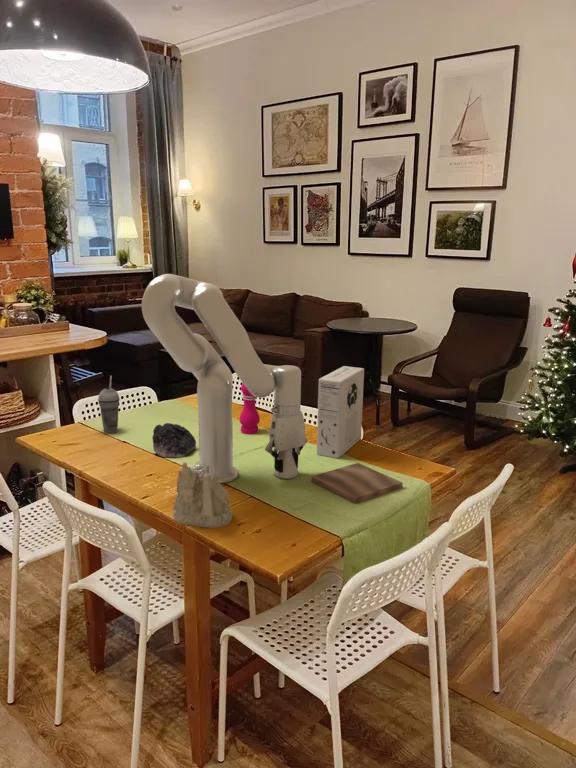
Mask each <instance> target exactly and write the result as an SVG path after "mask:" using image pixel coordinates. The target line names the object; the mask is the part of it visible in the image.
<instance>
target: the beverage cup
mask: <svg viewBox="0 0 576 768" xmlns="http://www.w3.org/2000/svg"><path fill="white" fill-rule="evenodd" d="M109 376H110V377H109V387H106V388H103V389H102V390H100V392H99V394H98V398H97V401H98V405H99V408H100V414H101V421H102V427H103V431H104V433H105V434H114V433H116V432H118V425H119V405H120V395H119V393H118V391H117V390H116V389H114V388H112V380H113V379H112V377H113V376H112V375H109Z"/></svg>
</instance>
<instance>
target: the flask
mask: <svg viewBox="0 0 576 768" xmlns="http://www.w3.org/2000/svg"><path fill="white" fill-rule="evenodd" d="M281 459H282V460H283V472H282V473H280V472H278V471H276V470H275V469H274V471H273V474H272V475H274V476H275V477H277V478H279V479H286V480H289V479H293V478H296V477H297V476H298V475H299V474H300V471H299V469H298V468H297V467H296V464H295V461H294V458H293V455H292V449H289V450H285V451H283V453H282V458H281Z"/></svg>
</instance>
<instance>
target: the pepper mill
mask: <svg viewBox="0 0 576 768" xmlns="http://www.w3.org/2000/svg"><path fill="white" fill-rule="evenodd" d="M240 390H241V393H242V397H241V398H242V400H243V408H242V410H241V413H240V415H239V423H240V424H241V426H240V432H241V433H242V434H245V435H246V434H247V435H253V434H257V433H259V426H258V424H259V423H260V421H261V418H260V414H259V412H258V409H257V408H256V407H257V406H256V400H257V399H258V397H255V396H254V395H252V394H251V393H250V392H249V391H248V389H247V388H246V387H245V385H244V384H243V383H241V386H240Z"/></svg>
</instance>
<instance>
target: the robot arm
mask: <svg viewBox="0 0 576 768" xmlns="http://www.w3.org/2000/svg"><path fill="white" fill-rule="evenodd" d="M223 294H224V293H223V292H222V290H221V289H220V287H218V285H216V284H214V283H210V282H205V281H201V280H196V279H193V278H188V277H186V276H181V275H176V274H173V273H164V274H161V275H158V276H157V277H155V278H153V279H152V280H151V281H149V283H148V285H147V286H146V288H145V290H144V293H143V296H142V299H141V312H142V317H143V319H144V321H145V323H146V325H147V327H148V328H149V330H150V331H151V332H152V333H153V335H154V336H155V337H156V339H157V340H158V341H159V342H160V344H161V345H162V346H163V348H164V349H165V350H166V352H168V354H169V355H170V356H171V358H172V359H173V360H174V362H175V363H176V365H177V366H178V367H179V368H180V369H182V370H183V371H185V372H188V373H192V374H193V376H194V377H195V378H196V380H197V385H196V386H197V387H196V394H197V396H196V397H197V398H196V399H197V412H198V418H197V419H198V438H199V439H198V441H199V442H198V446H199V447H198V449H199V450H198V451H199V453H198V454H199V460H198V461H195V462H196V463H195V465H193V466H192V467H191V466H189V467H190V469H191V471H192V469H196V472H197V473H198V475H199V476H200V475H201V474H202V472H204V473H209V474H210V475H211V477H212V476H213V475H215V477H216V478H217V480H218V481H219V483H220V484H226V483H229V482H232V481H234V480H236V479H237V478H238V476H239V470H238V468H236V467H235V466H234V464H233V463H234V462H233V461H234V458H233V456H234V455H233V454H234V451H233V450H234V449H233V447H234V446H233V445H234V444H233V443H234V442H233V438H234V437H233V436H234V435H233V379H234V377H233V373H232V371H231V369H230V368H229V366H228V365H227V364H226V362H225V361H224V360H223V358H222V357H221V356H220V355H219V353H218V352H217V350H216V349H215V348H214V346H213V345H212V344H211V343H210V342H209V340H208V339H206V338H205V337H204V336H203V335H202V334H198V333H195V332H193V331H192V330H191V328H189V326H188V325H187V324H186V322H185V321H184V320H183V318H181V316H179V314H178V313H177V311H176V307H179V308H184V309H188V310H193V311H194V313H195V314H196V315H197V316H198V318H199V320H200V321H201V322H202V324H203V325H204V327H205V328H206V329H207V331H208V332H209V333H210V335H211V336H212V338H213V339H214V341H215V343H216V344H217V345H218V347H219V349H220V350H221V352H222V354H223V355H224V357H225V358H226V360H227V361H228V363H229V364H230V366H231V368H232V370H233V371H234V372H235V374H236V375H237V377H238V378H239V380H240V381H241V382H242V384H244V385H245V387H246V388H247V389H248V391H249V392H250V393H251V394H252V395H254V396H255V397H257V398H260V399H261V398H266V397H268V396H271V394H272V393H273V395H274V396H273V407H272V408H271V409H270V412H271V413H273V414H272V415H271V420H270V425H269V440H268V443H267V444H266V447H265V448H264V451H266V452H267V453H268V454H269V455H271V457H272V458H273V459H274V462H273V463H274V471H275V470H276V471H278V472H280V473H282V472H283V460H282V459H281V458H282V453H283V451H285V450H289V449H292V455H293V458H294V461H295V464H296V467H297V469H298V468H299V455H301V452H302V450H303V448H304V447H305V446H306V444H307V443H308V439H307V438H306V426H305V424H306V423H305V419H304V417H305V416H304V414H303V412H302V411H301V405H302V404H301V401H302V400H301V398H302V397H301V396H302V370H301V369H300V367H298V366H297V365H292V364H291V365H289V364H284V365H273V364H265V363H263V362H262V360H261V358H260V357H259V356H258V354H257V352H256V350H255V348H254V347H253V344H252V342H251V340H250V337H249V334H248V332H247V330H246V328H245V327H244V326H243V325H242V323H241V321H240V320H239V318H238V317H237V316H236V314H235V313H234V311H233V309H231V307H230V305H229V304H228V303H227V301H226V299H225V298H224V295H223ZM175 306H176V307H175ZM273 391H274V392H273Z"/></svg>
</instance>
